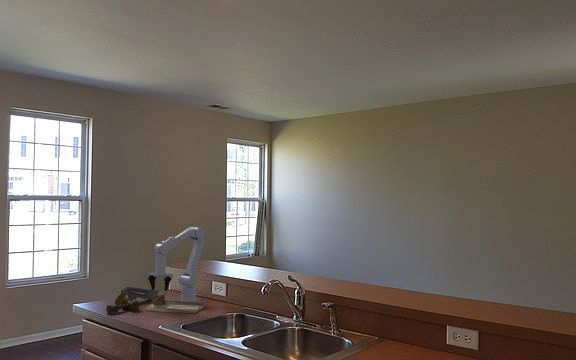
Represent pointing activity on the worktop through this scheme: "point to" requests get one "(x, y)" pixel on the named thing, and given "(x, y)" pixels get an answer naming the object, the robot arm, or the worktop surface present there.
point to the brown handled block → (159, 299)
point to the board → (177, 306)
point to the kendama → (123, 306)
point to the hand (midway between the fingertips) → (159, 290)
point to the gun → (136, 294)
